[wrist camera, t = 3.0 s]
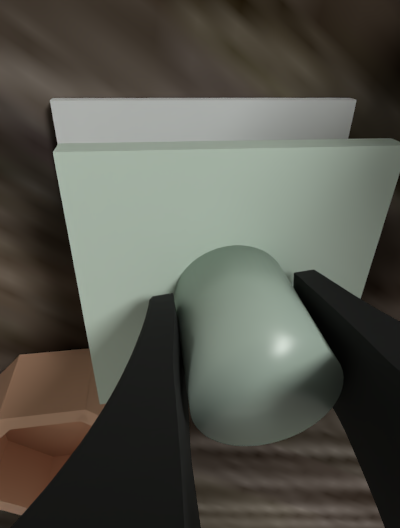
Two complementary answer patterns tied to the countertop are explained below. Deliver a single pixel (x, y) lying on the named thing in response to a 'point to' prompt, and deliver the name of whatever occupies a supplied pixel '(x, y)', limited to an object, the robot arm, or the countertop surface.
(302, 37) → the countertop surface
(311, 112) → the mat
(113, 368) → the lid
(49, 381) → the bowl
